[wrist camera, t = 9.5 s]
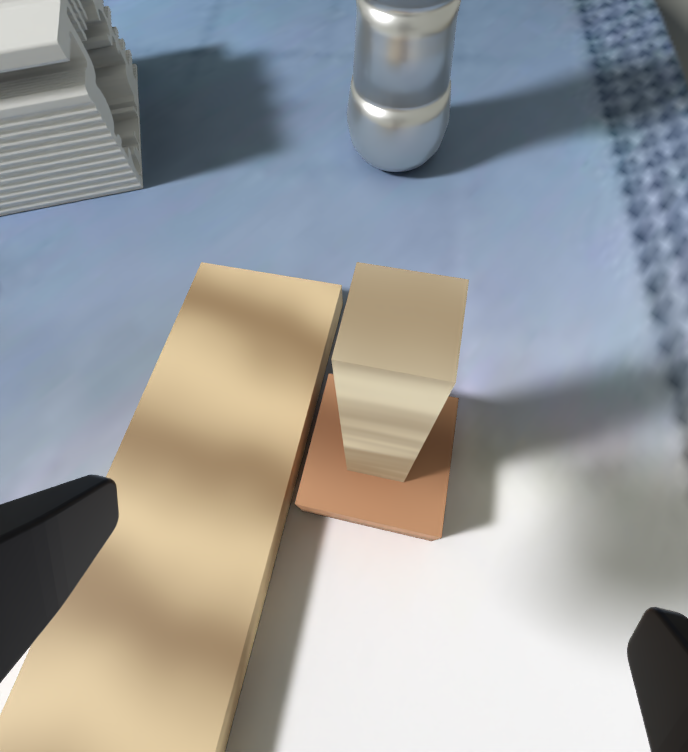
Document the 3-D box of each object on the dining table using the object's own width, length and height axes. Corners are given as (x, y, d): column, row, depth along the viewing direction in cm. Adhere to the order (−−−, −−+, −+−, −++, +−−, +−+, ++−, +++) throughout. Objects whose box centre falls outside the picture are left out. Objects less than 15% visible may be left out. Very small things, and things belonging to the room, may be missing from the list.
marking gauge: (431, 541, 19) (553, 500, 7) (302, 510, 20) (212, 427, 8) (448, 415, 21) (559, 227, 9) (332, 393, 22) (298, 191, 10)
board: (212, 799, 15) (194, 827, 14) (19, 737, 16) (-18, 756, 15) (342, 304, 24) (341, 285, 22) (211, 282, 25) (201, 262, 23)
